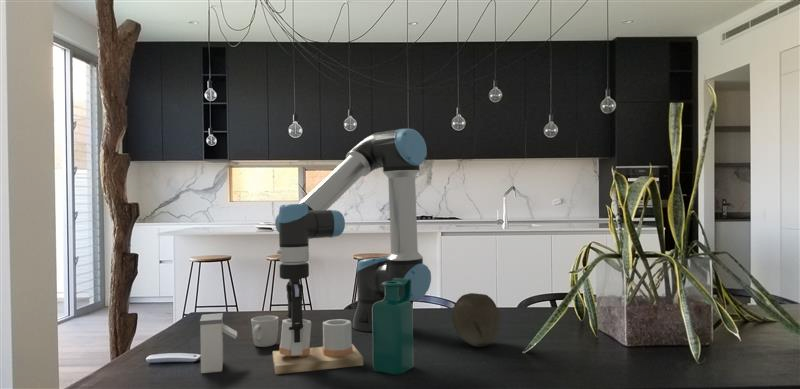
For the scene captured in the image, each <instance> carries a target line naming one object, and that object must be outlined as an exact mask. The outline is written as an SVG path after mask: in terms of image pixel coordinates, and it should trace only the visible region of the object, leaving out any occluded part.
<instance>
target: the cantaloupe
mask: <svg viewBox="0 0 800 389" xmlns="http://www.w3.org/2000/svg"><path fill="white" fill-rule="evenodd" d="M451 317H452V324H453V328H454V331H456V333H457V335H458V336H459V337H460V338H461V339H462V340H463V341H464V342H465V343H467V344H468V345H470V346H473V347H477V348H482V347H486V346H489V345H490V344H492V342H494V340H495V339H496V337H497V335H498V333H499V329H500V326H501V315H500V312H499V308H498V306H497V305H496V303H495V301H494V300H493V299H492V298H491V297H490V296H489V295H488V294H484V293H476V292H475V293H473V292H470V293H467V294H465V293H464V294H463V295H461V296H460V297H459V298H457V301H456V302H455V304H454V306H453V308H452V315H451Z"/></svg>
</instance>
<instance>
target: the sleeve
mask: <svg viewBox="0 0 800 389" xmlns="http://www.w3.org/2000/svg"><path fill="white" fill-rule="evenodd" d="M302 320H303V328H302V355H291V330H289V327H291V326H292V320H291V319H288V318H287V319H282V323H281V334H280V344H279V349H278V351H279V352H280V354H283V355H287V356H304V355H307V354H310V348H311V347H310V343H311V330H312V322H311V320H308V319H304V318H302ZM295 324H297V323H295Z"/></svg>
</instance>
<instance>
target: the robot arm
mask: <svg viewBox="0 0 800 389" xmlns="http://www.w3.org/2000/svg"><path fill="white" fill-rule="evenodd" d="M427 151H428V150H427V144H426V141H425V139H424V137H423V136H422V135H421V133H420V132H418V131H417V129H416V130H415V129H414V128H399V129H391V130H386V131H378V132H375V133H372V134H370V135H368V136H366V137H365V138H363V140H361V141H360V142H359V143H357V144H356V145H355V146H354V147H352V149H351V150H349V151H348V152H347V153H346V155H345V159H344V160H343V161H342V162H341V163H340V164H339V165H337V167H335V168H334V169H333V170H332V171H331V172H330V173H329V174H328V175H326V177H324V178H323V180H322V181H320V182H319V184H316V186H315V187H314V188H313V189H312V190H310V191H309V192H308V194H306V196H304V197H303V198H302V199H301V200H300V201H299V202H298V203H284V204H281V205H280V206H279V211H278V214H277V215H276V218H275V220H274V221H275V222H274V224H275V228H276V230H277V232H278V235H279V238H278V243H279V245H278V246H279V250H277V252H276V254H277V255H279V262H280V264H279V278H280V279H283V280H288V281H287V283H286V285H285V288H286V292H287V293H286V294H287V295H286V298H287V316H286V317H287V319H291V320H292V326H291V327H289V330H291V355H302V328H303V320H302V319H303V291H304V285H302V283H301V279H307V278H308V277H309V276H310V268H309V267H310V264H309V263H308V262H309V260H310V249H309V248H310V244H309V242H310V241H309V240H311V239H323V238H325V239H326V238H330V239H331V238H334V237H336V238H337V237H340V236H341V235H342V234H343V233H344V231H345V227H346V220H345V217H344V214H343V213H342V212H340V211H339V210H333V209H330V207H332V206H333V205H334V204H335V203H336V202H337V201H338V200H339V199H340V198H341V197H342V196H343V195H344V194H345V193H347V191H348V190H350V189H351V187H352V186H353V185H354V184H355V183H356V182H357V181H359V180H360V179H361V178H362V177H365V176H368V175H369V174H370V173H371V172H373V171H374V170H377V169H380V168H382V173H383V174H384V175H385V176H386V177H387V178H388V206H389V208H388V210H389V211H388V212H389V232H390V236H389V237H390V253H389V254H388V255H387V256H382V257H374V258H373V257H372V258H366V259H359V261H358V262H357V265H356V268H357V270H356V283H357V284H356V286H357V288H356V289H357V290H356V291H357V305H356V309H355V312H354V316H353V320H352V328H353V329H354V330H357V331H361V332H372V306H373V304H374V303H375V302H377V301H380V300H382V299H384V297H385V286H382V285H381V284H382V283H383V282H387V281H392V280H393V278H400V279H411V296H410V300H409V301H410V302H411V301H412V302H413V301H419V300H421V299H422V298H423V297H424V296H425V295H426V294H427V292H428V291H429V289H430V286H431V284H432V283H431V282H432V272H431V270H430V269H429V267H428V265H426V264H425V263H424V258H423V255H421V253H419V250H418V245H419V244H418V224H417V223H418V222H417V221H418V219H417V194H416V192H417V191H416V176H417V175H418V174H419V173H420V166H421V165H422V164H424V162H425V160H426V158H427V155H428V154H427ZM295 323H297V324H295Z"/></svg>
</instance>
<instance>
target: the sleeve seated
mask: <svg viewBox="0 0 800 389" xmlns="http://www.w3.org/2000/svg"><path fill="white" fill-rule="evenodd" d="M352 338H353V337H352V321H351V320H349V319H344V318H343V319H342V318H337V319H328V320H324V321H323V322H322V345H321V347H322V352H323V354H324V355H325V356H332V357H337V356H346V355H348V354H351V353H353V348H352V344H353V343H352Z"/></svg>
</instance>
